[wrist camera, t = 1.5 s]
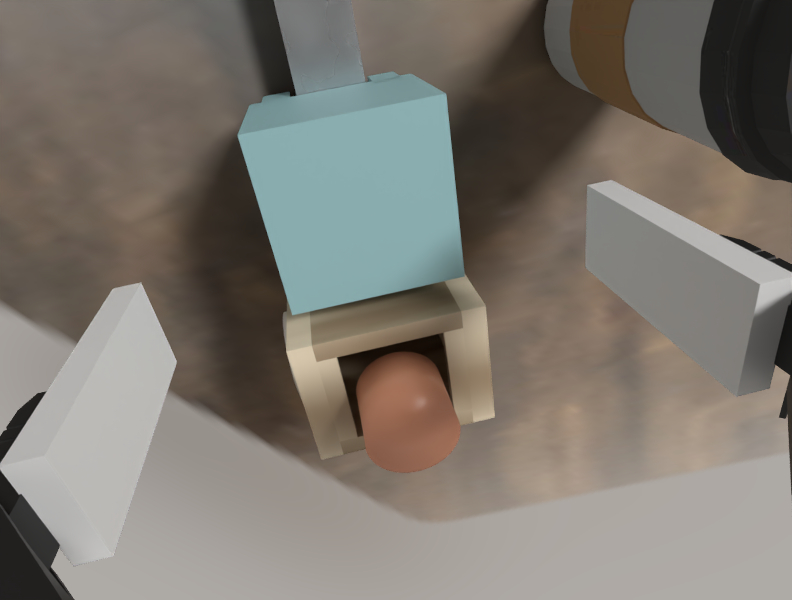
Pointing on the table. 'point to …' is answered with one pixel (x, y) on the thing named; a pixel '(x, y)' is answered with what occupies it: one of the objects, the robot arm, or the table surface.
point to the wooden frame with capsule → (383, 334)
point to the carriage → (356, 189)
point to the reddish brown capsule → (406, 413)
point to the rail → (320, 44)
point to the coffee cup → (687, 69)
